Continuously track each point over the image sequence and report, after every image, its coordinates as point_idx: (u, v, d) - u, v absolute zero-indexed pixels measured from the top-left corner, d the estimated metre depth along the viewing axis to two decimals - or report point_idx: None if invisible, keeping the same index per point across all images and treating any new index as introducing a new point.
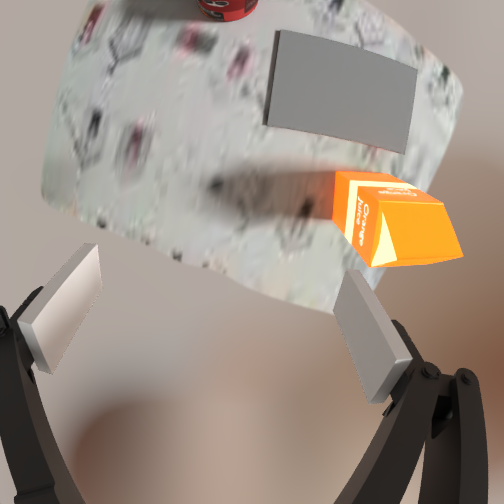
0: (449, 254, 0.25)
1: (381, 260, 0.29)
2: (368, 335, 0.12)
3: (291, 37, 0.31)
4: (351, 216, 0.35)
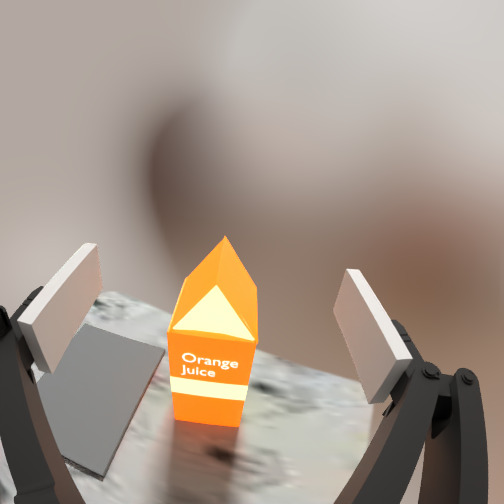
0: (222, 247, 0.27)
1: (239, 324, 0.24)
2: (368, 335, 0.12)
3: None
4: (212, 387, 0.27)
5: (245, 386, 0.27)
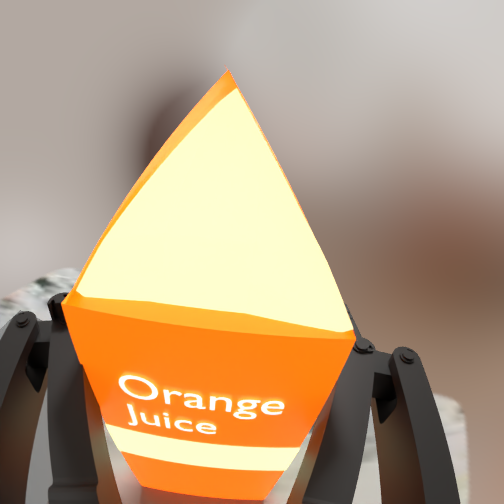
0: None
1: (305, 273, 0.07)
2: None
3: None
4: (210, 453, 0.10)
5: (293, 449, 0.09)
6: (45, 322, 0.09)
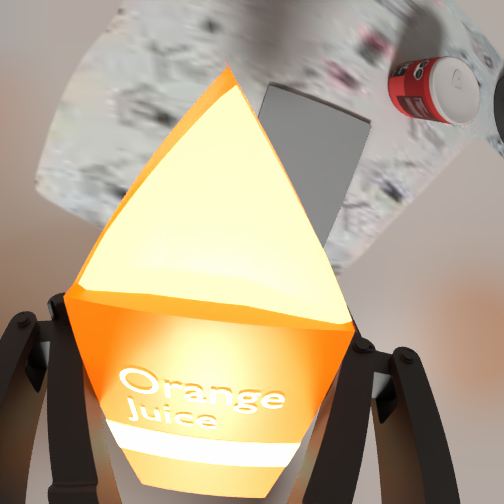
0: None
1: (304, 265, 0.07)
2: None
3: (362, 133, 0.34)
4: (211, 448, 0.10)
5: (294, 444, 0.10)
6: (45, 322, 0.09)
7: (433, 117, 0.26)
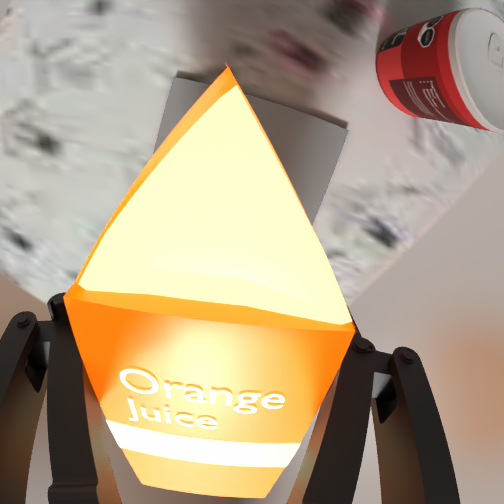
0: None
1: (304, 265, 0.07)
2: None
3: (331, 143, 0.22)
4: (211, 449, 0.10)
5: (294, 444, 0.10)
6: (45, 322, 0.09)
7: (455, 117, 0.13)
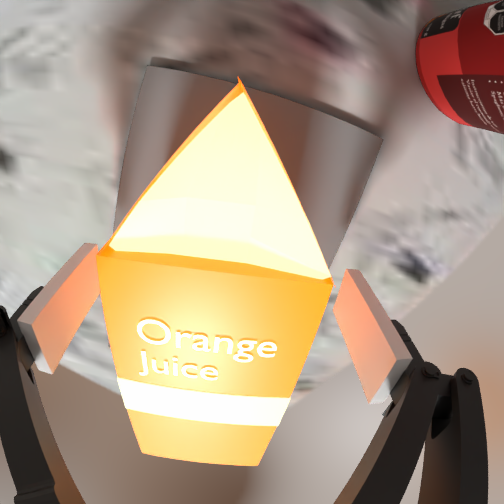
0: None
1: (292, 230, 0.09)
2: (368, 335, 0.12)
3: (361, 156, 0.16)
4: (210, 404, 0.12)
5: (284, 399, 0.12)
6: None
7: None
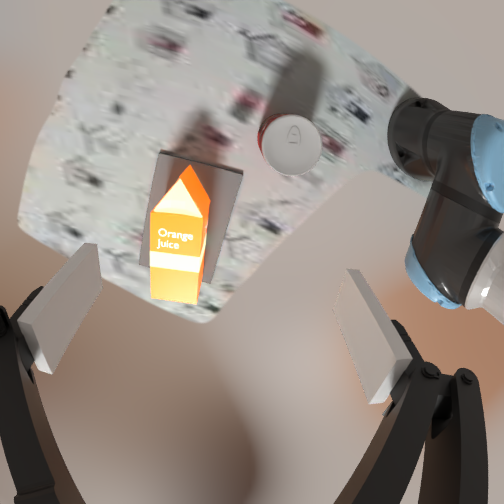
0: (187, 169, 0.43)
1: (193, 206, 0.40)
2: (368, 335, 0.12)
3: (234, 182, 0.47)
4: (177, 260, 0.43)
5: (198, 257, 0.43)
6: None
7: None
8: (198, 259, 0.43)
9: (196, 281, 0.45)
